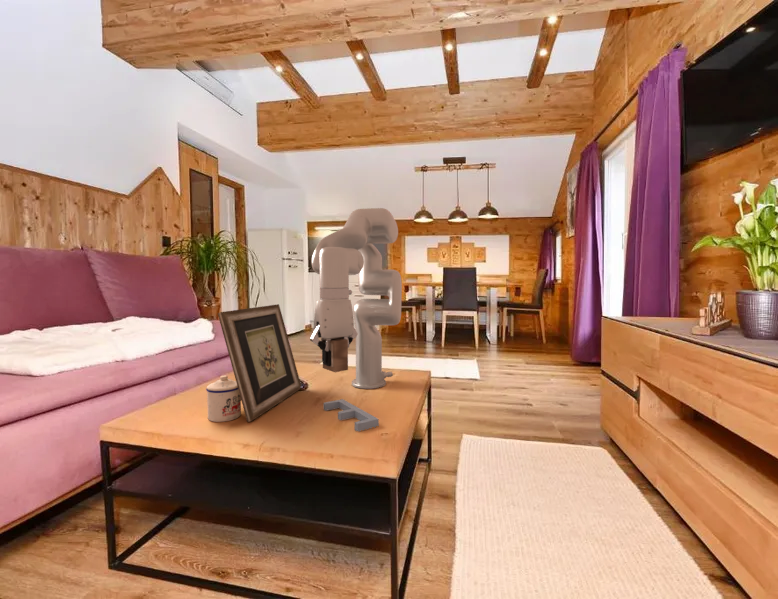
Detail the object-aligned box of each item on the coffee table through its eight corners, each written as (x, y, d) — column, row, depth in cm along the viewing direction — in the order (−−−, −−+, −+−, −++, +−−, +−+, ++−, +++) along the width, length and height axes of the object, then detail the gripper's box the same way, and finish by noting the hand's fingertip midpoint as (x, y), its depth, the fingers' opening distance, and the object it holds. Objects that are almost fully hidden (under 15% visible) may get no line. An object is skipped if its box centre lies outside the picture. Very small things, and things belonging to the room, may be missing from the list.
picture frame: (251, 423, 105) (249, 312, 104) (218, 420, 107) (216, 311, 106) (301, 389, 137) (301, 304, 136) (275, 387, 139) (274, 304, 138)
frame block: (335, 365, 107) (335, 336, 106) (347, 369, 102) (347, 339, 102) (322, 368, 104) (321, 338, 103) (334, 372, 99) (334, 341, 99)
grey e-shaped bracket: (342, 405, 120) (342, 399, 120) (378, 426, 103) (378, 418, 103) (323, 409, 116) (323, 402, 116) (357, 431, 100) (357, 424, 99)
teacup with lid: (225, 424, 104) (224, 381, 104) (199, 420, 107) (198, 378, 107) (255, 410, 116) (254, 371, 115) (230, 406, 119) (230, 369, 118)
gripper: (352, 293, 110) (352, 357, 111) (298, 295, 99) (299, 366, 100) (368, 294, 104) (368, 361, 106) (313, 296, 93) (314, 371, 95)
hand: (335, 363), depth 103 cm, fingers closed on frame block, 4 cm apart
